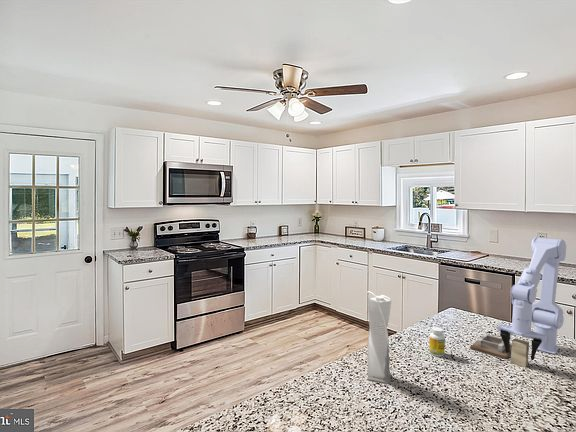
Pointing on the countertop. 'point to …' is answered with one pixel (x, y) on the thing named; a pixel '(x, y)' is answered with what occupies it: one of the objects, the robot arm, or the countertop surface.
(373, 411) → the countertop surface
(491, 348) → the socket board
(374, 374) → the skyscraper
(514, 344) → the birch peg
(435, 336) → the supplement bottle
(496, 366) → the countertop surface
